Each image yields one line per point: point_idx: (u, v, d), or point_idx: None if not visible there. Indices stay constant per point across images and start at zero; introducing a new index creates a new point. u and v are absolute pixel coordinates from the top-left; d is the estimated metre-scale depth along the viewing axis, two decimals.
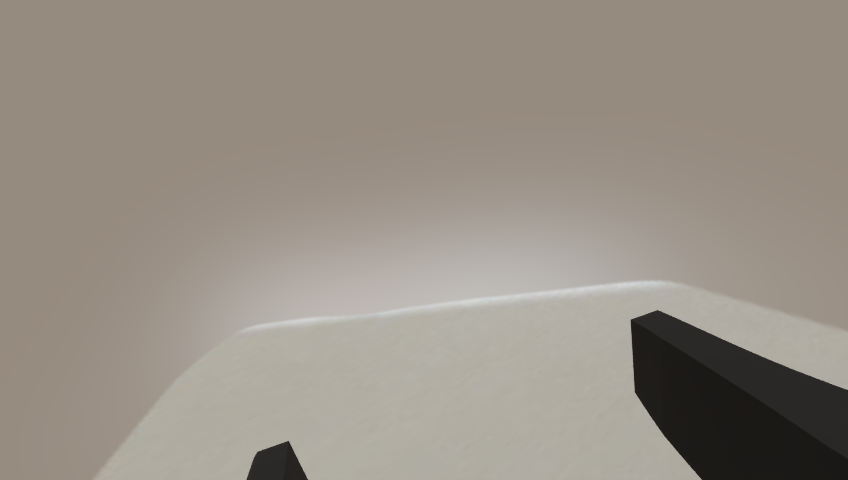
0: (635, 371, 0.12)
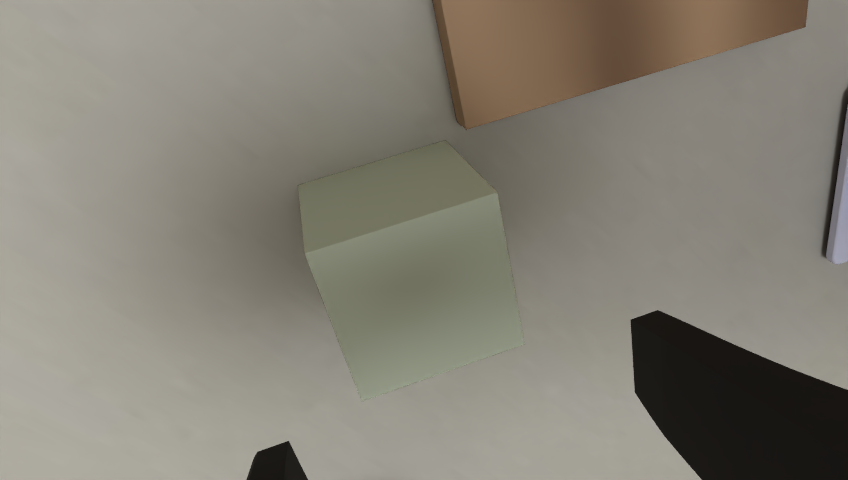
0: (635, 371, 0.12)
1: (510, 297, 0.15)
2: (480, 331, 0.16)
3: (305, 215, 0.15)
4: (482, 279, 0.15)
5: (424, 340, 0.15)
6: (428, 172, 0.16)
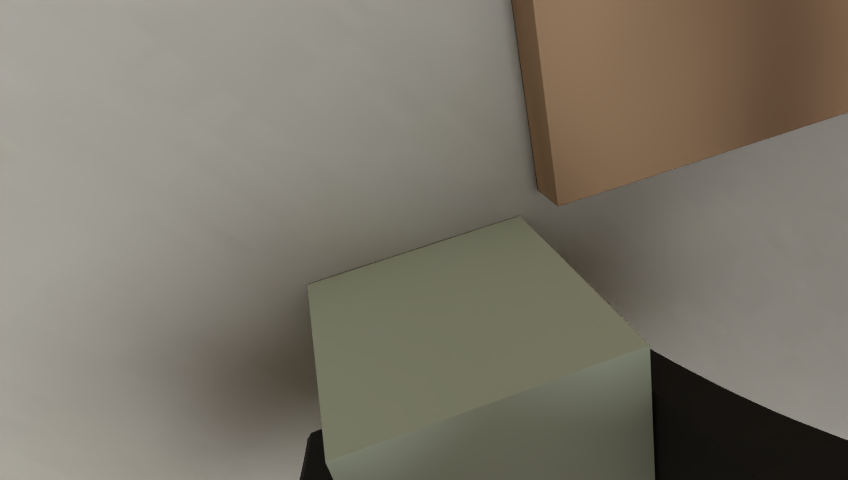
0: None
1: None
2: None
3: (321, 357, 0.10)
4: (608, 468, 0.09)
5: None
6: (510, 282, 0.10)
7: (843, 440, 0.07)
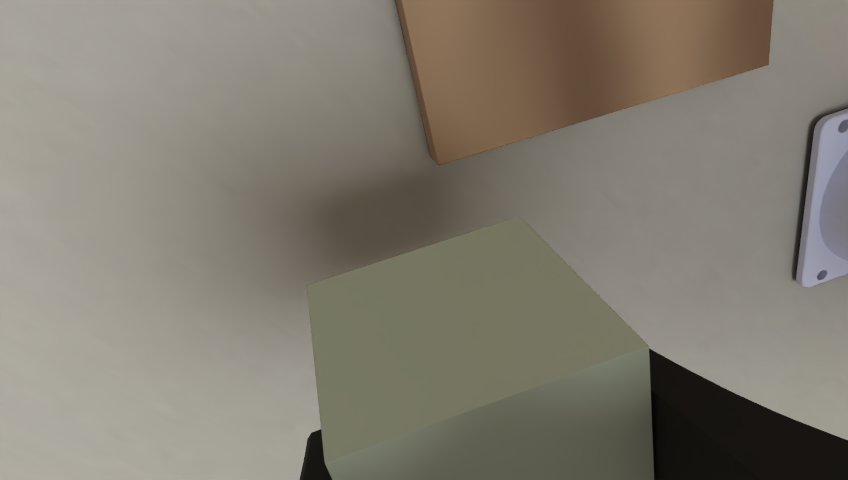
0: None
1: None
2: None
3: (321, 358, 0.10)
4: (608, 468, 0.09)
5: None
6: (509, 282, 0.10)
7: (843, 440, 0.07)
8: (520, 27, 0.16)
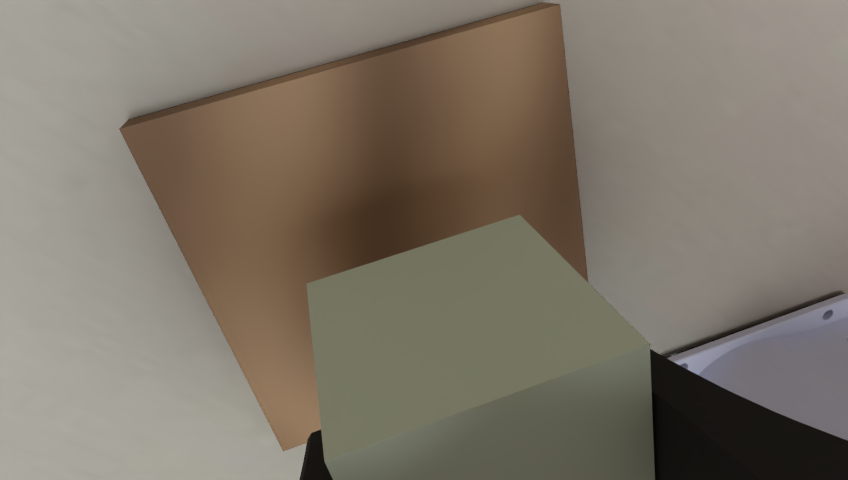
0: None
1: None
2: None
3: (320, 356, 0.10)
4: (609, 467, 0.09)
5: None
6: (509, 280, 0.10)
7: (843, 440, 0.07)
8: None
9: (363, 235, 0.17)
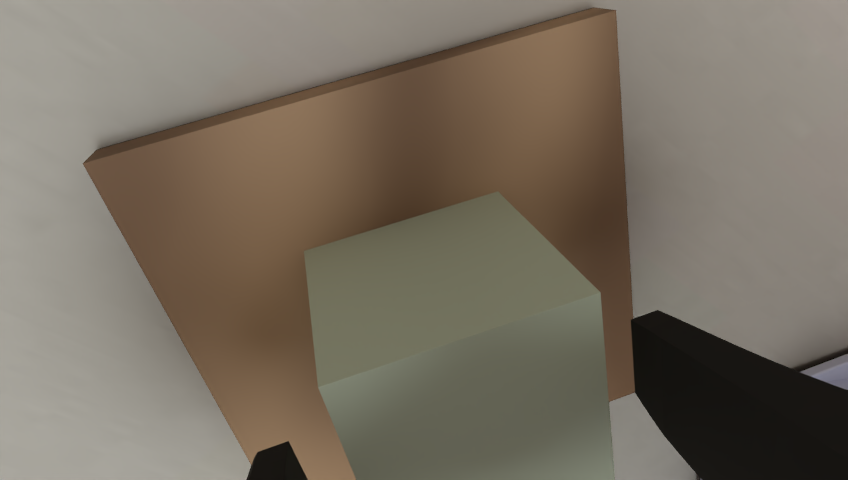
0: (635, 371, 0.12)
1: (603, 426, 0.11)
2: (558, 470, 0.11)
3: (316, 308, 0.11)
4: (568, 406, 0.11)
5: None
6: (485, 245, 0.12)
7: None
8: None
9: None
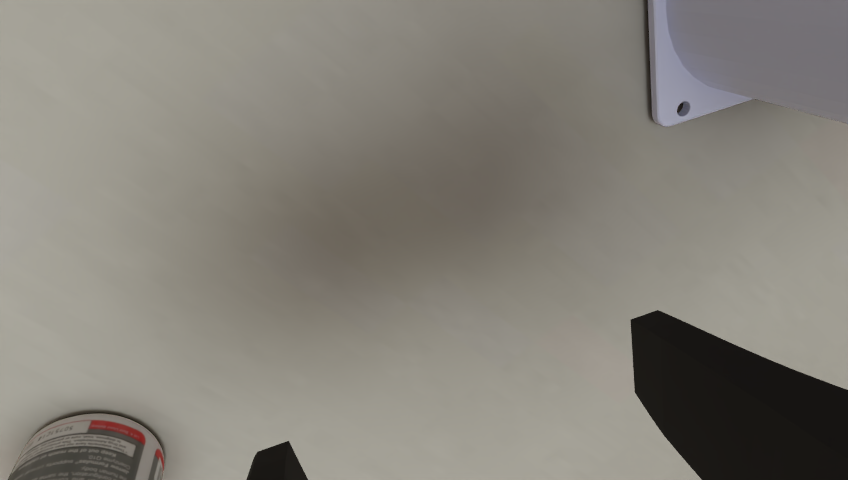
0: (635, 371, 0.12)
1: None
2: None
3: None
4: None
5: None
6: None
7: None
8: None
9: None
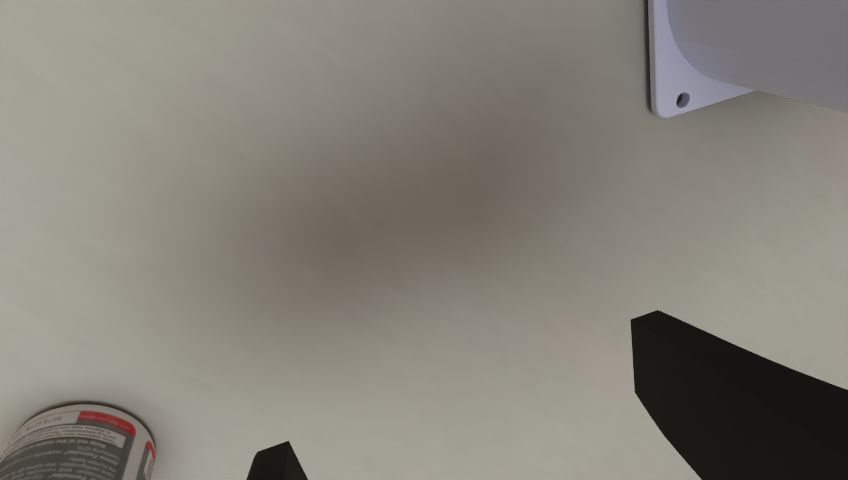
0: (635, 371, 0.12)
1: None
2: None
3: None
4: None
5: None
6: None
7: None
8: None
9: None
